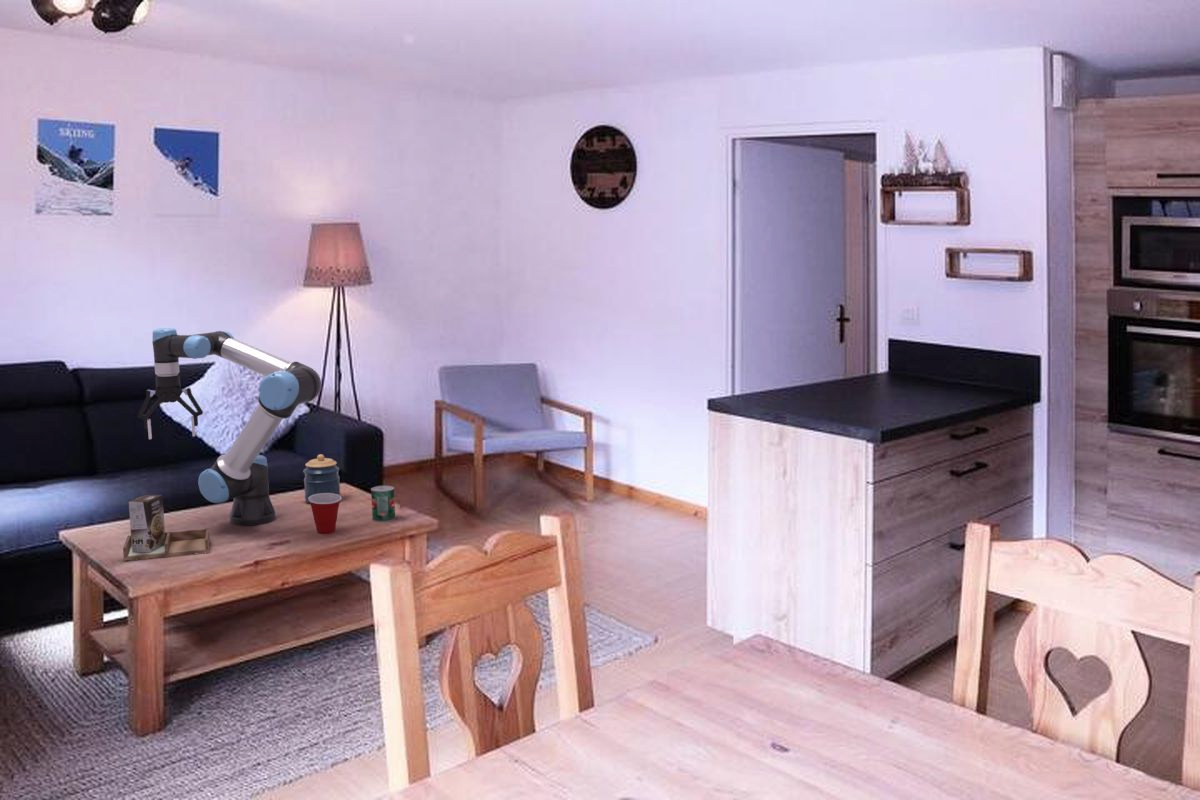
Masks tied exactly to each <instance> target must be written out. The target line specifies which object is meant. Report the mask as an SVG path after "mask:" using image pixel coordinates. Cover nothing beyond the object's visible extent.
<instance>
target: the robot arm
mask: <svg viewBox="0 0 1200 800" xmlns="http://www.w3.org/2000/svg"><path fill="white" fill-rule="evenodd" d="M151 343H152V347H153V348H152V349H153V358H154V359H153V360H154V363H153V364H154V373H155V375H156V376H155V390H151V389H147V390H146V392H145V393H146V394H145V399H144V401H143V403H142V405H141V408H140V410H139V412H138V414H137V415H136V417H137V419H142V420H143V428H144V430H147V432H148V435H147V436H148V440H152V438H153V435H152V425H151V424H152V421H151V418H149V417H150V416H151V415H152V414H153V413H154V411H155V410H156V409H157V408H158V406H159V405H160V404H161V403H164V404H167V403H176V402H178V403H179V404H180V405H181V406H182V407H183V408H184V409H185V410H186V411H187V412H189V413H190V414H191V417H190V419H191V420H190V421H191V432H192V433H191V435H192V437H196V427H198V426H199V420H198V419H199V418H198V417H199V416H202V415H203V414H204V413H203V412H204V411H203V409H202V407H201V405H199V403H198V402H197V400H196V398H195V397H194V395H193V393H192V389H191V387H187V388H182V386H181V376H180V374H179V373H180V361H179V360H180V359H179V358H183V359H185V358H186V359H192V360H193V359H194V360H196V359H204V358H206V357H208V356H213V355H214V356H217V357H220V358H223V359H225V360H226V361H230V362H232V363H235V364H236V365H239V366H241V367H244V368H245V369H248V370H250V371H253V372H254V373H257V374H260V375H262V376H264V378H263V379H262V380H261V381H260V383H259V387H258V397H257V403H258V406H257V408H256V409H255V410H254V412H253V413H252V415H251V416H250V418H249V420H248V421H247V422H246V424H245V426H244V427H243V429H242V430H241V432H240V433H239V435H238V436H237V437H236V439H235V440H234V442H233V443H232V445H231V447H230V448H228V449H229V450H228V451H227V452H226V454H221V455H219V456H218V458H217V459H216V460H215V462H214V464H213V465H212V466H211V467H210V468H206V469H204V471H201V473H200V474H199V477H198V478H197V479H198V480H197V483H198V487H199V492H200V494H201V495H202V496H203V497H204V499H206V500H207V501H208V502H210V503H212V504H213V503H214V504H220V503H224V502H227V501H229V500H231V499H232V500H233V501H232V506H231V510H230V513H229V523H230V524H232V525H235V526H243V527H244V526H245V527H247V526H257V525H264V524H267V523H270V522H273V521H274V520H276V519H277V518H276V516H277V515H276V510H275V508H274V505H273V502H272V500H271V498H270V489H269V486H270V485H269V471H268V468H269V465H268V461H267V457H266V456H264V455H262V454H260V453H261V451H263V448H265V445H266V444H267V442H268V441H269V440H270V439H271V437H272V435H273V433H275V431H276V430H277V428H278V426H280V423H282V421H283V420H284V419H285V420H286V419H289V418H290V417H291V416H292V415H293V413H294V412H295V411H296V409H297V408H298V406H299V405H302V404H305V403H309V402H312V401H313V400H315V398H317V397H318V395H319V394H320V393H321V390H322V380H321V379H322V378H321V376H320V375H319V374H318V372H317V371H316V370H315V369H314V368H312V367H310V366H308V365H306V364H304V363H301V362H299V361H292V362H290V361H289V360H286V359H283V358H282V357H279V356H276V355H274V354H272V353H269V352H267V351H265V350H262V349H259V348H258V347H254V346H252V345H250V344H248V343H245V342H243V341H240V340H238V339H236V338H234V336H233V335H232V333H230V332H229V331H226V330H225V331H224V330H223V331H222V330H216V331H214V332H213V331H211V332H204V333H197V334H188V335H187V334H182V335H181V334H178V333H177V329H176V328H171V327H167V328H155V329H154V330H153V331H152V341H151ZM183 393H184V394H185V396H187V397H188V399H189V400H190V402H191V403H192V405H193V407H194V408H195V409H196V411H195V410H194V409H193V408H192V407H191V405H189V404H188V402H186V401H185V400H184V399H183V398H182V397H181V395H182V394H183ZM154 395H155V396H156V397H157V398H158V399H157V400H156V401H155V402H154V403H153V405H152V406H151V407H150V409H148V411H147V412H146V414H144V412H145V410H146V408H147V405H148V404H149V401H150V400H151V398H152V397H153V396H154Z"/></svg>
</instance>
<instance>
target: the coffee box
mask: <svg viewBox="0 0 1200 800" xmlns="http://www.w3.org/2000/svg"><path fill="white" fill-rule="evenodd" d="M163 499H164V498H163V494H143V495H142V496H139V497H136V498H134V499H132V500H130V501H128V513H129V526H130V535H131V541H132V552H149V553H150V552H152V551H154V550H156V549H158V548H160V547H162V546H163V545H165V540H166V537H165V532H166V529H165V527H166V526H165V515H164V514H165V513H164V500H163Z"/></svg>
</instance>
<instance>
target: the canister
mask: <svg viewBox="0 0 1200 800" xmlns="http://www.w3.org/2000/svg"><path fill="white" fill-rule="evenodd" d="M337 464H338V462H337V461H336V460H335V459H333V458H328V457H325V456H324V454H320V453H319V454H318V455H317V456H316V458H313V459H310V460H309V461H307V462H305V467H306V468H304V469H303V470H302V471H303V474H304V478H303V482H304V499H305V503H307V504H309V505H310V502H309V500H308V497H310V496H311V495H314V494H320V493H333V494H338V495H340V496H341V487H340V486H341V485H340V478H341V477H340V475H339V471H340V468H339V466H337ZM341 497H342V496H341Z"/></svg>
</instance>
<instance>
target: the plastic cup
mask: <svg viewBox="0 0 1200 800" xmlns="http://www.w3.org/2000/svg"><path fill="white" fill-rule="evenodd" d="M340 495H341V494H340ZM340 495H338V494H333V493H320V494H314V495H311V496H310V497H308V500H309V502H310V504H309V505H310V508H311V510H312V515H313V521H314V523H315V527H316V531H317V534H320V535H321V534H322V535H324V534H325V535H328V534H332V533H334V532H336V527H337V520H338V514H339V513H338V512H339V507H340V502H341V501H342V498H343V497H342V496H340Z"/></svg>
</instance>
